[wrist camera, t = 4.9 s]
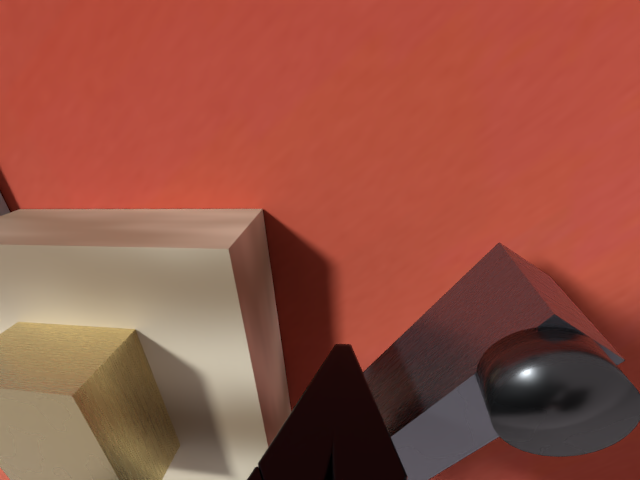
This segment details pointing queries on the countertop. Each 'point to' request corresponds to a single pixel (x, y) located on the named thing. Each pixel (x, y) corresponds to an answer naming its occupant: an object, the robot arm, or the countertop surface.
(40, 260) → the cream rectangular block
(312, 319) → the countertop surface
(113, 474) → the tan wooden block
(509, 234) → the countertop surface
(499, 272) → the latch lever
